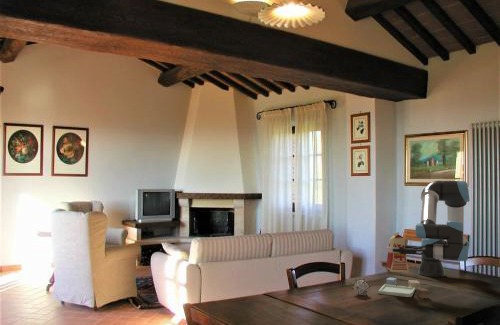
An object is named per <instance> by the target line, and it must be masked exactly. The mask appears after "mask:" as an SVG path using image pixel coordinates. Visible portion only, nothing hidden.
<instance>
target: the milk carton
mask: <svg viewBox="0 0 500 325" xmlns="http://www.w3.org/2000/svg"><path fill="white" fill-rule="evenodd" d="M388 242H389V243H388V247H398V248H399V247H401V248H405V245H406V244H405V237H404V236H402V235H400V232H399V231H398V232H395V233H393V235H392V236H391V237H390V238H389V241H388ZM407 260H408V259H407V254H400V253H392V252H387V256H386V269H387V270H389V271H390V272H393V273H394V272H395V273H397V272H398V273H399V272H401V273H409V272H410V271H409V270H410V269H409V265H408V261H407Z"/></svg>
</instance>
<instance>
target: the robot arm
mask: <svg viewBox="0 0 500 325" xmlns="http://www.w3.org/2000/svg"><path fill="white" fill-rule="evenodd" d="M469 191H470V190H469V185H468V182H466V181H465V180H434V181H432V182H430V183H428V184H427V185H426V186H425V187H424V188H423V190H422V191H421V193H420V194H421V195H420V199H421V201H422V203H421V205H422V206H421V211H420V213H421V214H420V215H421V216H420V223H416V224H415V236H416V238H417V239H421V244H420V245H409V244H405V248H401V247H399V248H398V247H389V246H386V250H385V251H386V253H388V252H392V253H400V254H406V255H418V256H421V261H420V264H419V268H418V275H421V276H425V277H434V278H440V277H445V275H446V272H445V269H444V268H445V267H444V266H443V263H442V262H443V260H444V261H453V262H454V261H455V262H467V261H468V258H469V250H470V249H469V248H470V241H469V240H467V238H466V237H465V236H464V235H465V232H464V230H465V229H464V227H465V226H464V223H465V219H464V217H465V212H464V210H465V209H464V208H465V206H466V205H467V203H468V202H470V192H469ZM439 201H440V202H444V204H445V205H446V206H447V221H446V223H445V224H444V223H443V224H442V223H441V224H439V223H438V224H437V214H438V213H437V211H438V210H437V209H438V202H439Z"/></svg>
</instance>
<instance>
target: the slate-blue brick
mask: <svg viewBox="0 0 500 325" xmlns="http://www.w3.org/2000/svg"><path fill="white" fill-rule="evenodd" d="M397 279H398V278H397V277H387V278H386V279H385V284H387V285H397V283H398V280H397ZM397 286H398V285H397Z"/></svg>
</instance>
